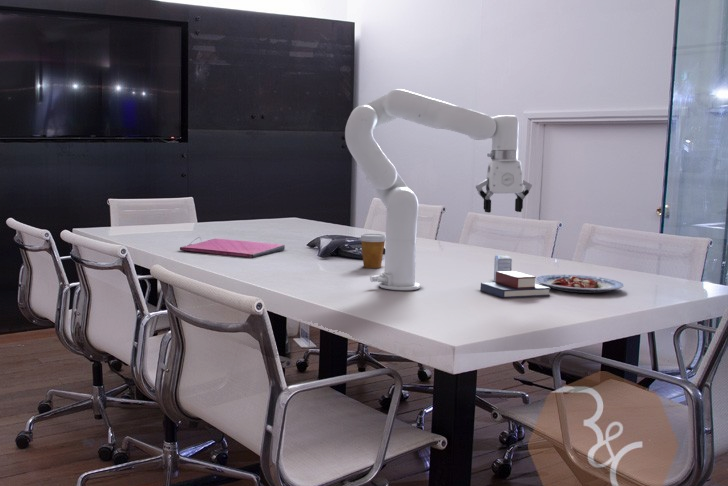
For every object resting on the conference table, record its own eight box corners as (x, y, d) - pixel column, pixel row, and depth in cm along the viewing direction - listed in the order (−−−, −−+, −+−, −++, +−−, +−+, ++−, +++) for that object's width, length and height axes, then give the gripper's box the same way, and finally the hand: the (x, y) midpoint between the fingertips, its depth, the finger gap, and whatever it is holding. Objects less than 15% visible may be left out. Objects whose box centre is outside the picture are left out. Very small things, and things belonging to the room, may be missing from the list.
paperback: (516, 289, 228) (517, 277, 228) (495, 282, 239) (495, 271, 238) (535, 288, 229) (536, 276, 229) (513, 281, 240) (513, 270, 240)
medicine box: (511, 285, 248) (512, 258, 247) (496, 284, 249) (498, 258, 248) (507, 281, 256) (508, 255, 255) (493, 280, 257) (494, 254, 256)
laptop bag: (285, 241, 327) (252, 249, 305) (285, 250, 328) (252, 259, 305) (208, 234, 349) (172, 241, 326) (208, 243, 349) (172, 251, 327)
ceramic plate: (516, 283, 250) (517, 274, 250) (576, 279, 260) (577, 270, 259) (579, 298, 227) (580, 288, 226) (642, 292, 236) (643, 283, 236)
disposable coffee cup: (389, 266, 286) (390, 234, 284) (379, 269, 278) (380, 237, 276) (365, 264, 291) (365, 232, 289) (355, 267, 283) (355, 235, 281)
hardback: (503, 298, 227) (503, 290, 226) (480, 290, 238) (480, 282, 238) (549, 295, 230) (550, 287, 230) (525, 288, 242) (525, 280, 242)
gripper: (481, 156, 230) (480, 213, 232) (537, 156, 231) (535, 212, 233) (472, 156, 237) (470, 211, 239) (526, 155, 238) (524, 210, 240)
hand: (502, 211), depth 236 cm, fingers open, 9 cm apart
